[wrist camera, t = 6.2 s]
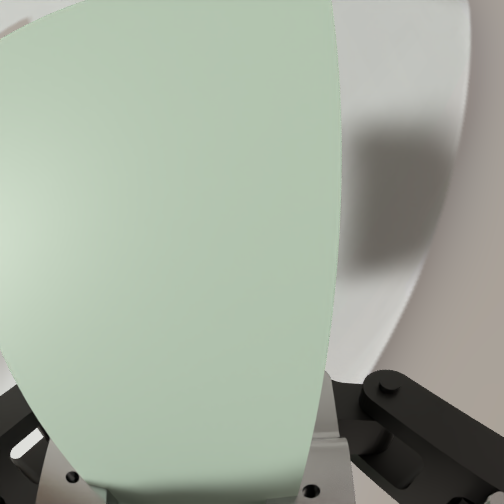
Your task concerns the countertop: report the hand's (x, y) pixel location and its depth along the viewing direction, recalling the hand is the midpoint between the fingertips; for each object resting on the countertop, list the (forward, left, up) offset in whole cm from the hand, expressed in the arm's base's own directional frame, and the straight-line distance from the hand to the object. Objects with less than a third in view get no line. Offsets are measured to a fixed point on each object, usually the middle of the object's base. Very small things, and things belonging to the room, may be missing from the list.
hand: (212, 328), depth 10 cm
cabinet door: (0, 0, -4) cm, 4 cm away
